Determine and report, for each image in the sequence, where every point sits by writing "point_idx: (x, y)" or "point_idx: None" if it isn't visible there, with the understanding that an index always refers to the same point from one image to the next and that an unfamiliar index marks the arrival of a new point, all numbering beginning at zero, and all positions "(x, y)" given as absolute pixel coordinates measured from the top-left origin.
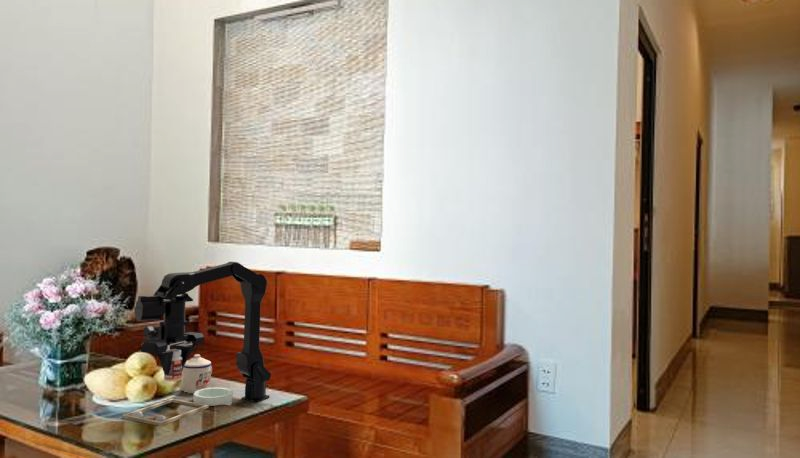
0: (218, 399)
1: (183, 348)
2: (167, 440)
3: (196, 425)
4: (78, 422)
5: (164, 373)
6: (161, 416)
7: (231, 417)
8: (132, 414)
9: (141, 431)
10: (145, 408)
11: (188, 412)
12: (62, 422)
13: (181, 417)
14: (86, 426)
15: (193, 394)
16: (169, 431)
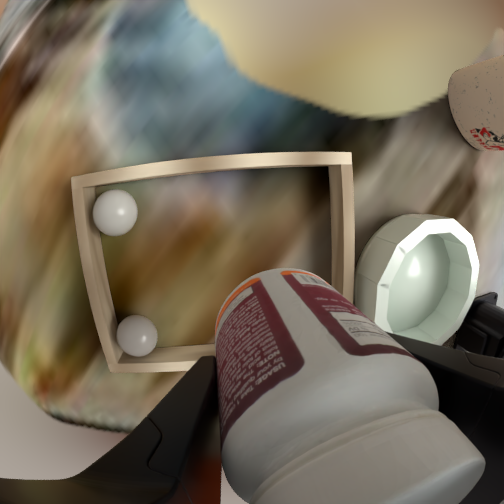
0: None
1: (492, 486)
2: (100, 412)
3: None
4: (37, 65)
5: (199, 360)
6: (131, 351)
7: None
8: (93, 207)
9: (80, 308)
10: (180, 172)
11: None
12: (26, 39)
13: None
14: (21, 119)
15: (395, 244)
16: (137, 376)
